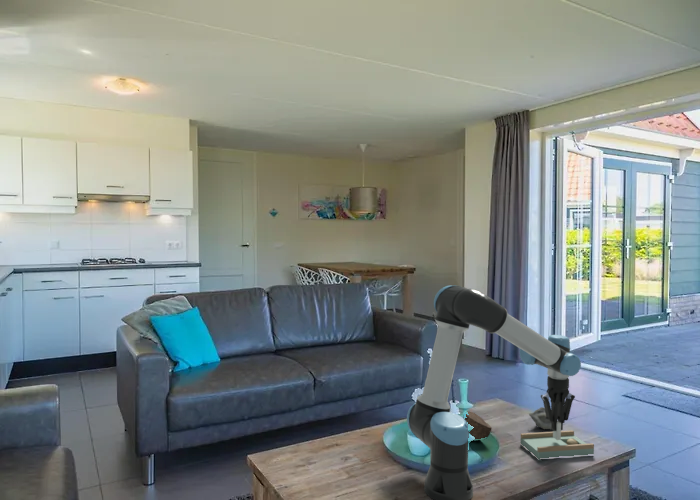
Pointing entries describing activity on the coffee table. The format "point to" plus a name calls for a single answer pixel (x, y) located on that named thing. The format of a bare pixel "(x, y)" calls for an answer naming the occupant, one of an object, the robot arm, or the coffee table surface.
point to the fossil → (541, 418)
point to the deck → (555, 444)
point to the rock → (478, 426)
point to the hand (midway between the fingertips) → (556, 438)
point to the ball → (571, 442)
